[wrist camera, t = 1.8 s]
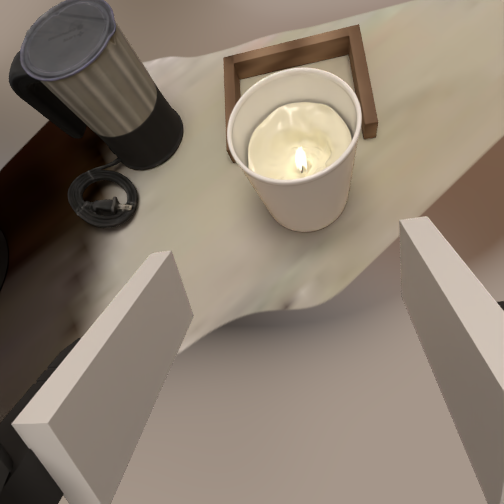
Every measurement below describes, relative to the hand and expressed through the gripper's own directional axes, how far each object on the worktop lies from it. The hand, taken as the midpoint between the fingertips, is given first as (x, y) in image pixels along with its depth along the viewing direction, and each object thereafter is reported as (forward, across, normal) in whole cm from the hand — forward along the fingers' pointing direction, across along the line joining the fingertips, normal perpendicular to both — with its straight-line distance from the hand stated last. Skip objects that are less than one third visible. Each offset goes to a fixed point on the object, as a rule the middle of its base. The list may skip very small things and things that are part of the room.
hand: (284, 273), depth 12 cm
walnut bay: (+34, 0, +2) cm, 34 cm away
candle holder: (+26, 0, -6) cm, 27 cm away
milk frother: (+31, -20, -1) cm, 37 cm away
